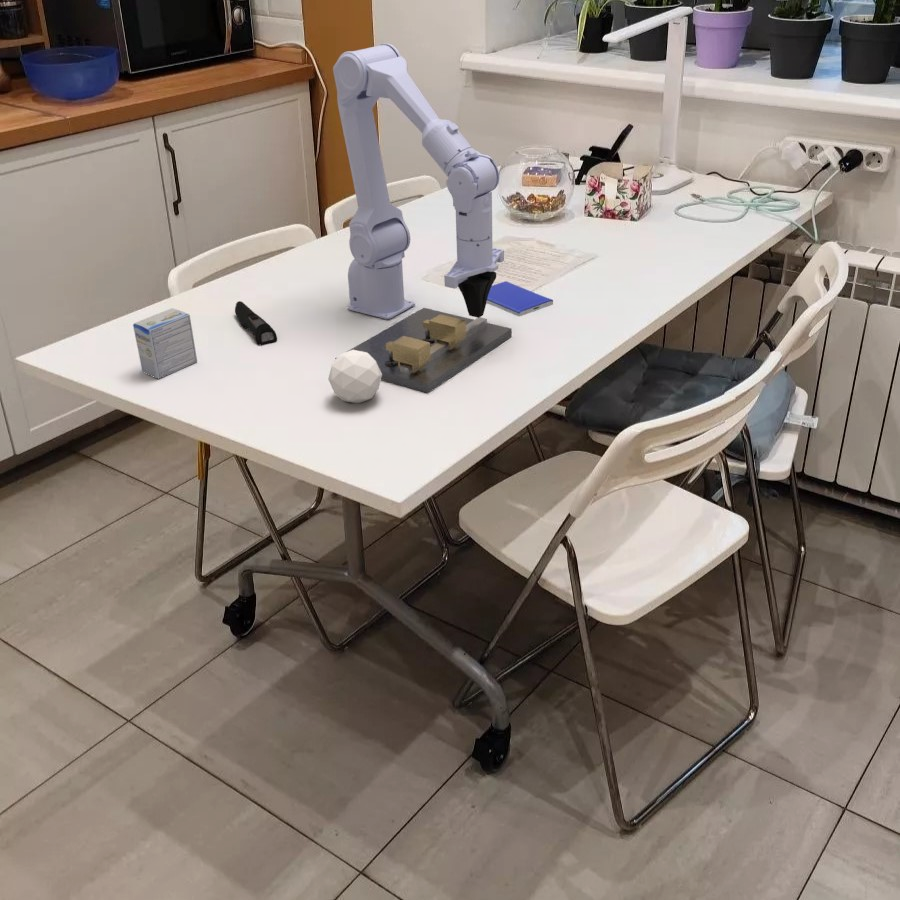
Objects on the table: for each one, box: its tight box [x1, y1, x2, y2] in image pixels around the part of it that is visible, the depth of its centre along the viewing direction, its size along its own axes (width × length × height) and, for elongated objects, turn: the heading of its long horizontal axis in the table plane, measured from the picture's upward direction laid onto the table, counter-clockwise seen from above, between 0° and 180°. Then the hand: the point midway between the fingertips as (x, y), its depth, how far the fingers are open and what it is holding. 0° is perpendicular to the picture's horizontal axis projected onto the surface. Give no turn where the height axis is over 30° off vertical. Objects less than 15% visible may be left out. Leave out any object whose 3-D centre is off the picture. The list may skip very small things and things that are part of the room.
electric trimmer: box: [234, 300, 278, 346], centre depth 180 cm, size 4×15×3 cm, turn 27°
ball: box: [327, 350, 382, 404], centre depth 154 cm, size 8×8×8 cm
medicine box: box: [132, 308, 198, 380], centre depth 165 cm, size 8×4×9 cm, turn 141°
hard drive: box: [486, 281, 554, 317], centre depth 187 cm, size 2×8×12 cm
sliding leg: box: [423, 314, 466, 350], centre depth 166 cm, size 7×3×4 cm, turn 55°
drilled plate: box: [334, 307, 513, 394], centre depth 168 cm, size 18×24×6 cm
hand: (476, 315), depth 172 cm, fingers closed
